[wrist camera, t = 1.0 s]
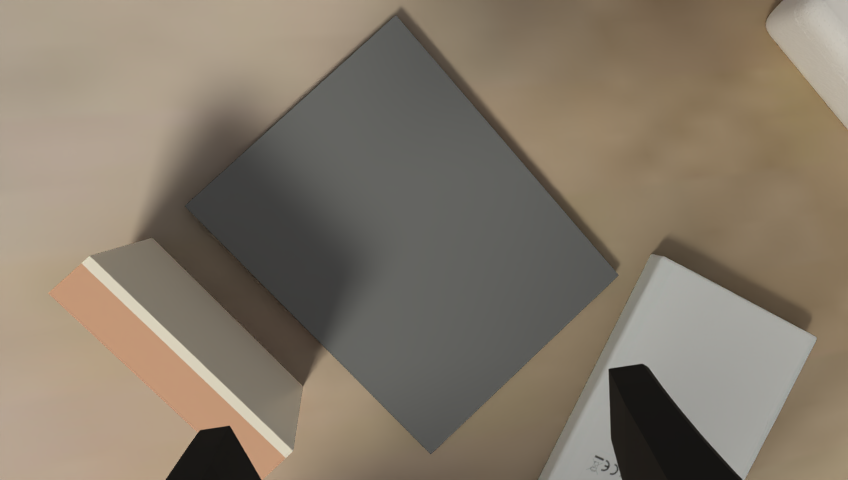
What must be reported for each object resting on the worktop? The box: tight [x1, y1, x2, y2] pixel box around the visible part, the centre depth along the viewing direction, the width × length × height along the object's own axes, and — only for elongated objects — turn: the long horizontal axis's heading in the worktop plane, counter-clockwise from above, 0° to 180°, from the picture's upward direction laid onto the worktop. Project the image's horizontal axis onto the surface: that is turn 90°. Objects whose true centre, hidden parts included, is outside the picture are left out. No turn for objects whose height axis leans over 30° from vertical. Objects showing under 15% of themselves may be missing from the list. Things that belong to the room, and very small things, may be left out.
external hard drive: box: [538, 254, 817, 480], centre depth 26 cm, size 2×8×12 cm
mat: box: [185, 15, 618, 454], centre depth 24 cm, size 10×14×1 cm
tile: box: [49, 238, 303, 480], centre depth 21 cm, size 2×8×6 cm, turn 42°
